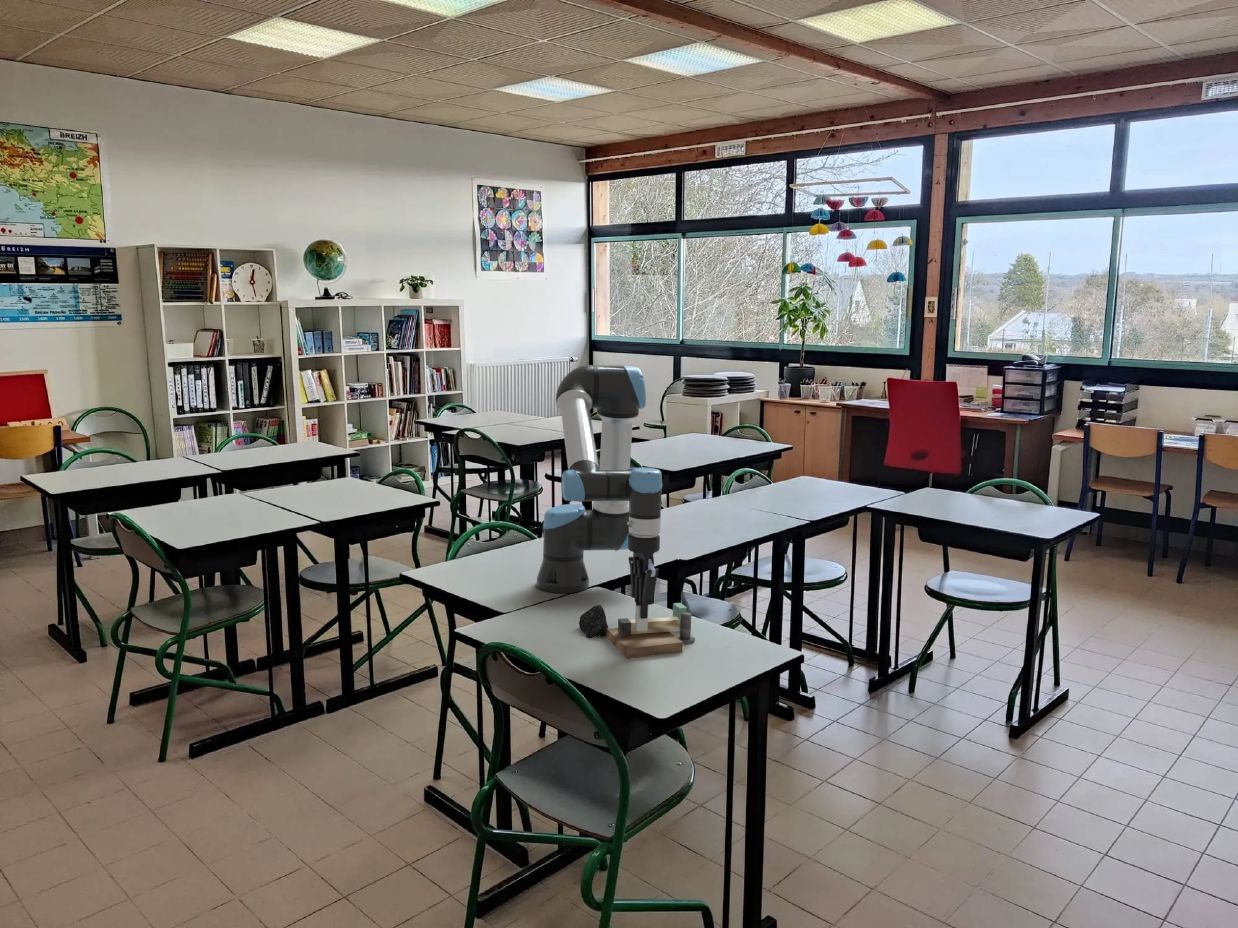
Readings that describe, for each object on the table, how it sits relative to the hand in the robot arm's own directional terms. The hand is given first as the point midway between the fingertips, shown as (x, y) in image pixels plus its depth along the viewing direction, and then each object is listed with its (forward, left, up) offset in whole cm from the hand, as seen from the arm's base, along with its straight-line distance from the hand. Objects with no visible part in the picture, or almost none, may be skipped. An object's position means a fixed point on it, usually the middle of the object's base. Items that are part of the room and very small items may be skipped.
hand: (641, 629), depth 224 cm
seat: (-1, +4, -4) cm, 6 cm away
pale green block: (-10, +15, -4) cm, 18 cm away
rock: (-13, -7, -5) cm, 16 cm away
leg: (-2, +3, -1) cm, 3 cm away
